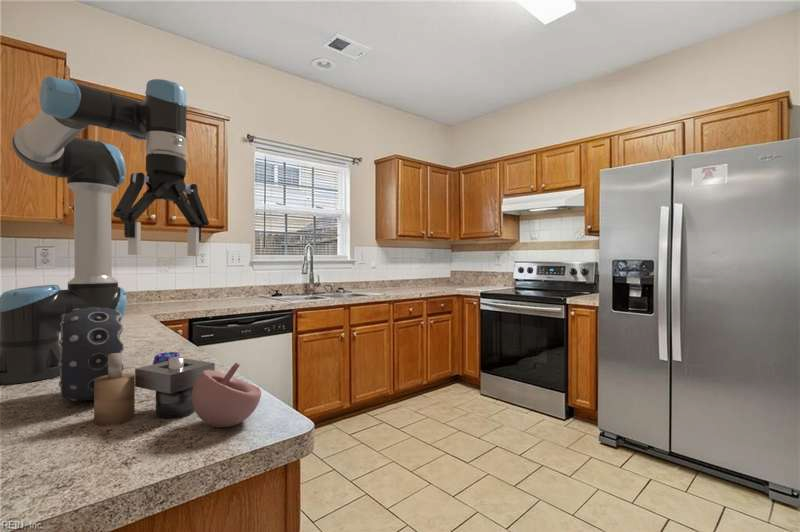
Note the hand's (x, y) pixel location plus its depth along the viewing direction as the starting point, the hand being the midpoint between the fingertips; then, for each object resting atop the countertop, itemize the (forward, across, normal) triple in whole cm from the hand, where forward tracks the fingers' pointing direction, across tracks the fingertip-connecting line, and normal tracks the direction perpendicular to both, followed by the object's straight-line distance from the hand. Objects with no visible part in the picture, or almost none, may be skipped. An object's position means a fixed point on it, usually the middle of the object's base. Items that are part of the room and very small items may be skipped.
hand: (165, 255), depth 88 cm
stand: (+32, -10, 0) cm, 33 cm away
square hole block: (+26, -3, -7) cm, 27 cm away
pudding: (+32, +17, +22) cm, 42 cm away
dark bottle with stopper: (+32, -3, -7) cm, 33 cm away
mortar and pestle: (+32, -3, -21) cm, 38 cm away
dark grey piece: (+32, -5, +17) cm, 36 cm away
